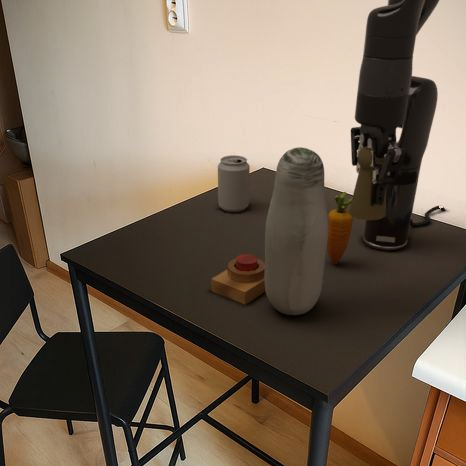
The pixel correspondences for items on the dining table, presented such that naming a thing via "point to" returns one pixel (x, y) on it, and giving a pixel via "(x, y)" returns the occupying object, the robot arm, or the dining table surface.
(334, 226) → the carrot
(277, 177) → the grey tall rounded cylinder
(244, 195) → the can
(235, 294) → the button box
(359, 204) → the cork
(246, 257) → the red button
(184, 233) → the dining table surface
